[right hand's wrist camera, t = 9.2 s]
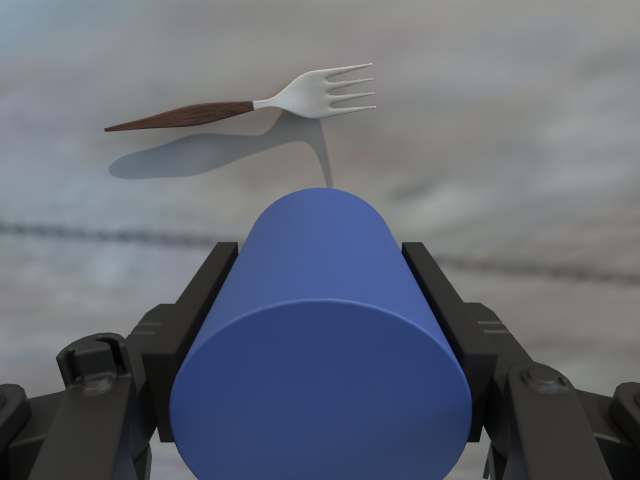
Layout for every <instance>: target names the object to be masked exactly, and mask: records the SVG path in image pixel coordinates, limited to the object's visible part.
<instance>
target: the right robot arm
mask: <svg viewBox="0 0 640 480" xmlns="http://www.w3.org/2000/svg"><path fill="white" fill-rule="evenodd" d="M401 253H402V255H403V257H404V259H405V261H406V263H407V265H408V267H409V268H410V270H411V272H412V274H413V276H414V278H415V280H416V282H417V284H418V286H419V288H420V290H421V292H422V294H423V295H424V297H425V299H426V301H427V303H428V305H429V307H430V309H431V311H432V313H433V315H434V317H435V319H436V320H437V322H438V324H439V326H440V328H441V330H442V332H443V334H444V336H445V338H446V340H447V342H448V344H449V345H450V347H451V349H452V351H453V353H454V355H455V357H456V359H457V361H458V363H459V365H460V367H461V369H462V370H463V372H464V375H465V377H466V380H467V383H468V386H469V389H470V395H471V401H472V423H471V428H470V433H469V437H468V440H467V442H479V441H480V436H481V432H482V427H483V426H484V428H485V430H486V432H487V434H488V436H489V438H490V440H491V443H490V447H489V452H488V456H487V460H486V464H485V468H484V474H483V478H484V479H488V477H489V473H490V480H640V383H635V382H628V383H622V384H620V385H619V386H618V387H616V390H615V393H614V395H613V398H612V397H608V396H603V395H599V394H594V393H589V392H585V391H581V390H577V389H575V388H574V387H573V385H572V384H571V382H570V381H569V380H568V379H567V378H566V377H565V376H564V375H562V374H561V373H560V372H559V371H557V370H555V369H553V368H551V367H549V366H547V365H544V364H540V363H537V362H534V361H533V360H532V359H531V358H530V356H529V355H528V354H527V353H526V351H525V350H524V349H523V348H522V346H521V345H520V344H519V343H518V342H517V340H516V339H515V338H514V337H513V335H512V334H511V333H509V330H508V329H507V328H506V327H505V325H504V324H502V322H501V320H500V319H499V318H498V317H497V315H496V314H495V313H494V312H493V311H492V310H490V309H489V308H487V307H486V306H484V305H482V304H481V303H464V302H463V301H462V299H461V298H460V296H459V295H458V294H457V292H456V291H455V289H454V288H453V286H452V285H451V284H450V282H449V281H448V279H447V278H446V276H445V275H444V273H443V272H442V271H441V269H440V268H439V266H438V265H437V263H436V262H435V261H434V259H433V258H432V256H431V255H430V253H429V252H428V250H427V249H426V248H425V246H424V245H423V243H422V242H402V252H401ZM238 255H239V254H238V243H237V242H218V243H217V244H216V246H215V247H214V249H213V250H212V252H211V253H210V254H209V256H208V257H207V259H206V260H205V262H204V263H203V265H202V266H201V267H200V269H199V270H198V272H197V273H196V275H195V276H194V277H193V279H192V280H191V282H190V283H189V285H188V286H187V287H186V289H185V290H184V292H183V293H182V295H181V296H180V298H179V299H178V300H177V302H176V303H175V304H159V305H158V306H156V307H155V308H153V309H152V310H150V311H149V312H147V313H146V314H145V315H144V317H143V318H142V319H141V320H140V322H139V323H138V326H136V327H135V328H134V329H133V330H132V332H131V335H128V337H127V338H126V339H124V338H123V337H122V336H121V335H119V334H115V333H98V334H94V335H90V336H86V337H84V338H81V339H79V340H77V341H75V342H72V343H71V344H70V345H68V346H67V347H65V348H64V349H62V351H61V352H60V353H59V354H58V355H57V357H56V360H57V363H58V366H59V369H60V372H61V375H62V378H63V381H64V384H65V387H66V389H65V391H61V392H57V393H53V394H48V395H44V396H39V397H35V398H30V399H27V396H26V393H25V391H24V389H23V388H22V387H20V386H19V385H16V384H3V385H0V480H150V471H151V461H152V453H151V447H150V443H149V441H150V439H151V437H152V435H153V433H154V431H155V429H156V427H157V428H158V433H159V437H160V442H174V439H173V436H172V431H171V427H170V415H169V404H170V397H171V391H172V387H173V384H174V381H175V378H176V376H177V374H178V372H179V370H180V368H181V366H182V364H183V362H184V360H185V358H186V356H187V354H188V352H189V350H190V348H191V346H192V344H193V342H194V340H195V339H196V337H197V335H198V333H199V331H200V329H201V327H202V325H203V323H204V321H205V319H206V317H207V315H208V313H209V311H210V309H211V307H212V305H213V303H214V302H215V300H216V298H217V296H218V294H219V292H220V290H221V288H222V286H223V284H224V282H225V280H226V278H227V276H228V274H229V272H230V270H231V268H232V267H233V265H234V263H235V261H236V259H237V257H238Z"/></svg>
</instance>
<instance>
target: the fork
mask: <svg viewBox="0 0 640 480" xmlns="http://www.w3.org/2000/svg"><path fill="white" fill-rule="evenodd" d="M368 66H372V63H371V64H366V65H358V66H349V67H342V68H334V69H327V70H316V71H311V72H308V73H305V74H303V75H301V76H299V77H298V78H296V79H295V80H294V81H293V82H291V83H290V84H289V85H288V86H287V87H286V88H285V89H284V90H283V91H281V92H280V93H279V94H278V95H276V96H275V97H273V98H271V99H268V100H262V101H246V102H221V103H205V104H196V105H191V106H186V107H182V108H178V109H175V110H171V111H168V112H165V113H161V114H158V115H154V116H151V117H147V118H143V119H140V120H136V121H132V122H128V123H124V124H120V125H116V126H112V127H108V128H105V129H104V130H105V132H109V131H122V130H134V129H148V128H168V127H186V126H195V125H201V124H206V123H210V122H214V121H218V120H221V119H225V118H229V117H232V116H235V115H239V114H242V113H246V112H249V111H253V110H257V109H260V108H265V107H277V108H281V109H283V110H286V111H288V112H291V113H293V114H295V115H298V116H301V117H304V118H309V119H321V118H326V117H330V116H335V115H340V114H346V113H351V112H356V111H361V110H366V109H372V108H376V106H372V107H354V108H338V109H334V108H331V104H333V103H336V102H340V101H344V100H349V99H354V98H358V97H363V96H367V95H372V94H375V93H361V94H348V95H337V96H332V95H330V94H329V92H330V91H331V90H334V89H337V88H342V87H346V86H350V85H354V84H358V83H362V82H366V81H370V80H373V79H362V80H351V81H342V82H328V81H327V79H328V78H329V77H331V76H334V75H337V74H341V73H345V72H349V71H353V70H357V69H360V68H364V67H368Z"/></svg>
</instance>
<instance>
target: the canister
mask: <svg viewBox="0 0 640 480" xmlns="http://www.w3.org/2000/svg"><path fill="white" fill-rule="evenodd" d="M169 415H170V427H171V431H172V436H173V439H174V442H175V444H176V447H177V449H178V452H179V454H180V455H181V457H182V459H183V460H184V462H185V464H186V465H187V466H188V468H189V469H190V470H191V471H192V473H193V474H194V475H195V476H196V477H197V478H198V479H199V480H443V479H444V478H445V477H446V476H447V474H448V473H449V472H450V471H451V469H452V468H453V467H454V465H455V464H456V463H457V461H458V459H459V457H460V456H461V454H462V452H463V450H464V448H465V445H466V442H467V440H468V437H469V433H470V428H471V423H472V401H471V395H470V389H469V386H468V383H467V380H466V377H465V375H464V372H463V370H462V369H461V367H460V365H459V363H458V361H457V359H456V357H455V355H454V353H453V351H452V349H451V347H450V345H449V344H448V342H447V340H446V338H445V336H444V334H443V332H442V330H441V328H440V326H439V324H438V322H437V320H436V319H435V317H434V315H433V313H432V311H431V309H430V307H429V305H428V303H427V301H426V299H425V297H424V295H423V294H422V292H421V290H420V288H419V286H418V284H417V282H416V280H415V278H414V276H413V274H412V272H411V270H410V268H409V267H408V265H407V263H406V261H405V259H404V257H403V255H402V253H401V251H400V249H399V247H398V245H397V243H396V242H395V240H394V238H393V236H392V234H391V232H390V230H389V228H388V226H387V225H386V223H385V221H384V220H383V218H382V217H381V216H380V214H379V213H378V212H377V211H376V210H375V209H374V208H373V207H372V206H370V205H369V204H368V203H366V202H365V201H364V200H362V199H360V198H358V197H357V196H355V195H352V194H350V193H347V192H344V191H340V190H337V189H330V188H311V189H304V190H300V191H297V192H293V193H291V194H288V195H286V196H284V197H282V198H280V199H279V200H277V201H275V202H274V203H273V204H272V205H270V206H269V207H268V208H267V209H266V210H265V211H264V212H263V213H262V214H261V215H260V217H259V218H258V219H257V221H256V222H255V224H254V226H253V228H252V230H251V231H250V233H249V235H248V237H247V239H246V241H245V243H244V245H243V247H242V249H241V251H240V253H239V255H238V257H237V259H236V261H235V263H234V265H233V267H232V268H231V270H230V272H229V274H228V276H227V278H226V280H225V282H224V284H223V286H222V288H221V290H220V292H219V294H218V296H217V298H216V300H215V302H214V303H213V305H212V307H211V309H210V311H209V313H208V315H207V317H206V319H205V321H204V323H203V325H202V327H201V329H200V331H199V333H198V335H197V337H196V339H195V340H194V342H193V344H192V346H191V348H190V350H189V352H188V354H187V356H186V358H185V360H184V362H183V364H182V366H181V368H180V370H179V372H178V374H177V376H176V378H175V381H174V384H173V387H172V391H171V397H170V404H169Z"/></svg>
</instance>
